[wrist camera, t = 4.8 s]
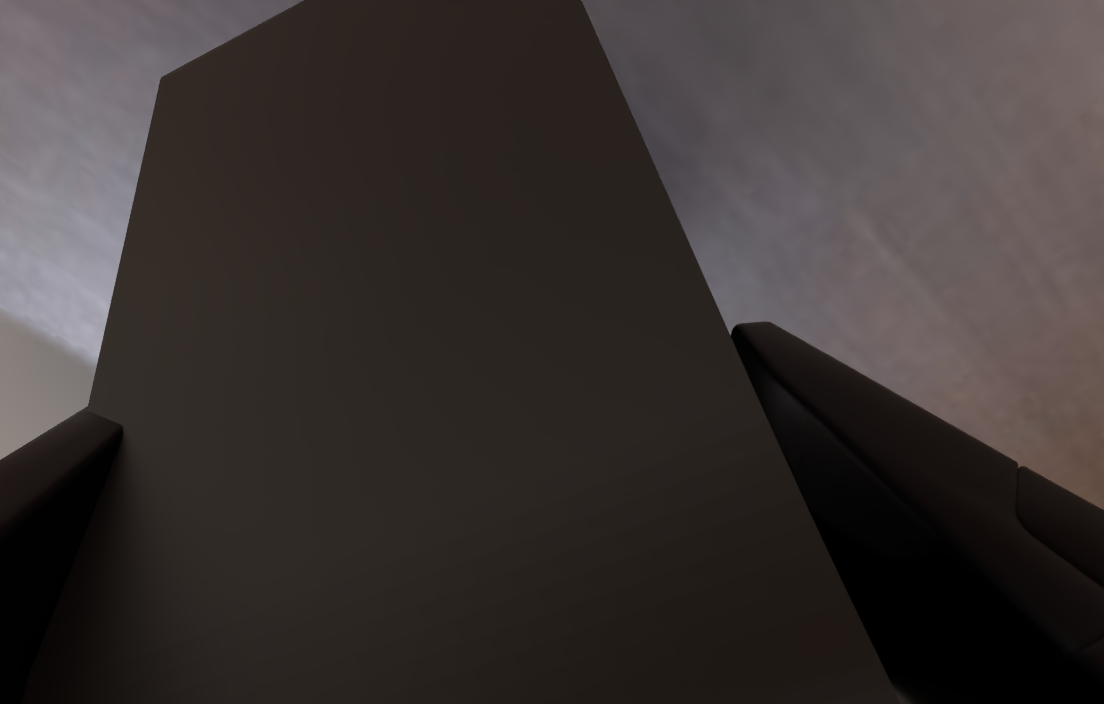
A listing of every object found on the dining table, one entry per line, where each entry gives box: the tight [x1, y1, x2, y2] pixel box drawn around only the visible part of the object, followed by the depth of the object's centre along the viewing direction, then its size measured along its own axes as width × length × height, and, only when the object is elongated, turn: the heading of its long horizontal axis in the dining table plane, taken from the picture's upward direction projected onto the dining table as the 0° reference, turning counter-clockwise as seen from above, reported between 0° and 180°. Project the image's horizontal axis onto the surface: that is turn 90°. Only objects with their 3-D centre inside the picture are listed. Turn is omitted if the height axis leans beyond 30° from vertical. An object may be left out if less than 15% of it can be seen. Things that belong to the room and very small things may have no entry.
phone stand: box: [21, 0, 901, 704], centre depth 8 cm, size 9×6×12 cm, turn 24°
